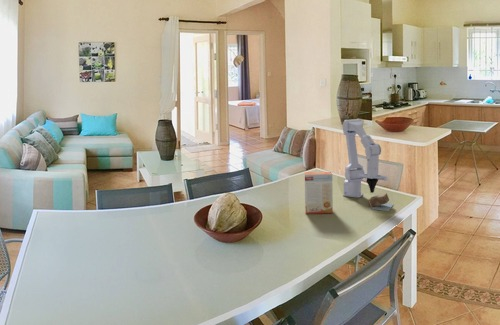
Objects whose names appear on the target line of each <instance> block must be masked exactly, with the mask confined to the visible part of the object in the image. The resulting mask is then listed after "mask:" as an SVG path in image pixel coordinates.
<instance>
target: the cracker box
mask: <svg viewBox="0 0 500 325" xmlns="http://www.w3.org/2000/svg"><path fill="white" fill-rule="evenodd" d="M333 200H334V199H333V172H332V171H315V172H312V171H311V172H309V171H308V172H304V209H305V214H333V213H334V210H333V203H334V202H333Z"/></svg>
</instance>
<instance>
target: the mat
mask: <svg viewBox="0 0 500 325" xmlns="http://www.w3.org/2000/svg"><path fill="white" fill-rule="evenodd" d="M393 206H395V204H394V203H389V202H387V203H386V204H382V205H378V206H374V207H370V210H373V211H384V212H389V211H390V210H391V209H392V207H393Z"/></svg>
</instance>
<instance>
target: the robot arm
mask: <svg viewBox="0 0 500 325" xmlns="http://www.w3.org/2000/svg"><path fill="white" fill-rule="evenodd" d="M363 122H364V121H363V120H362V119H361V118H356V119H355V118H354V119H344V121H343V122H342V132H343V135H345V141H346V148H347V156H348V164H347V166H346V167H345V169H344V170H345V171H344V177H345V180H344V182H343V195H342V196H343V197H350V198H359V199H360V198H361V197H362V196H363V195H364V193H362V181H363V180H364V179H366V180H365V182H366V183H367V186H368V187H369V192H370V193H372V194H373V193H374V192H375V189H376V185H377V183H378V181H385V182H386V181H387V180H388V176H387V175H380V174H379V158H380V157H379V156H380V155H381V154H382V148H381V147H382V146H381V145H380V144H379V143H376V142H375V141H374V139H373V138H372V137H371V136H370V135H369V134H367V133H366V130H365V128H364V123H363ZM356 135H358V137H359V138H360V143H361V144H362V146H363V147H364V152H365V157H366V159H367V160H366V163H367V164H366V173H365V170H364V167H363V165H361V163H359V157H358V151H357V142H356Z"/></svg>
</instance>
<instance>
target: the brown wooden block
mask: <svg viewBox="0 0 500 325" xmlns="http://www.w3.org/2000/svg"><path fill="white" fill-rule="evenodd" d="M389 201H390V197H389V195H388V193H387V192H385V193H382V194H381V193H380V194H378V195H374V196H371V197H369V199H368V203H369V205H370V208H372V207H374V206H378V205H382V204H386V203H389Z"/></svg>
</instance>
